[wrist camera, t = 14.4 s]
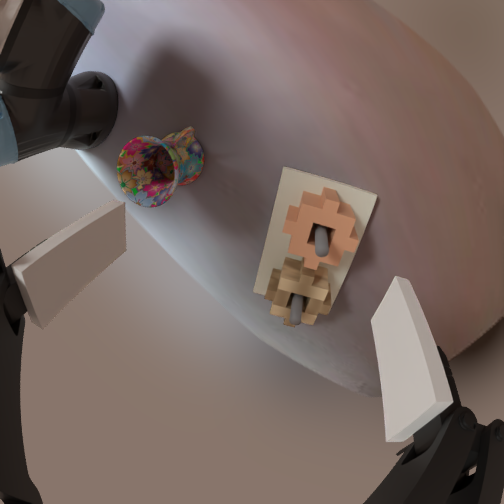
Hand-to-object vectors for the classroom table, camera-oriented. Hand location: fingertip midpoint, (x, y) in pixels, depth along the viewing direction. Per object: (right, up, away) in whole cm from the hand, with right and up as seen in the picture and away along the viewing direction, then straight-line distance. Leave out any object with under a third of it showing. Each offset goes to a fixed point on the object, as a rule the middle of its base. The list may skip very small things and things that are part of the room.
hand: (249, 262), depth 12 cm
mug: (-10, +16, +27) cm, 33 cm away
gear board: (+9, +1, +30) cm, 32 cm away
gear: (+8, -4, +32) cm, 33 cm away
